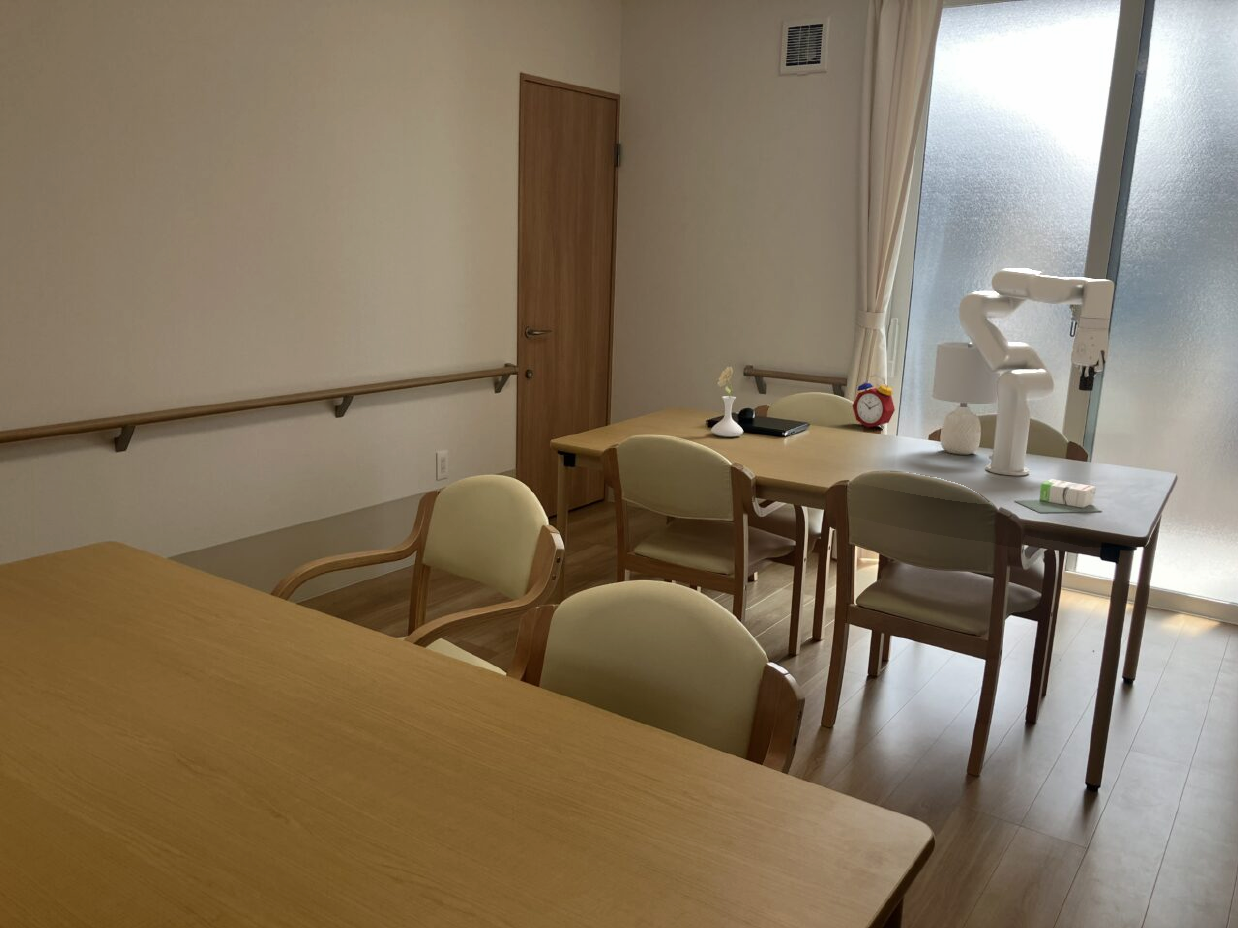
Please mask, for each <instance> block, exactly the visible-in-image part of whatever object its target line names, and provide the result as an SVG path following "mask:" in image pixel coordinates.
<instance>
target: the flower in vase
mask: <svg viewBox="0 0 1238 928" xmlns="http://www.w3.org/2000/svg"><path fill="white" fill-rule="evenodd" d="M733 372H734V370H733V367H732V366H727V367H726V368H725V369H724V370H723V371H722V372H721V374H720V377H718V382H717V385H718V387H719V388H720V387H723V386H725V385H726V384H728V382H729V385H730V387H728V385H726V386H725V387H724V390H725V391H726V393H728V394H729V395H726V396H725V395H724V396H721V399H722V401H723V403H724V416H723V418H722V419H721V420H719V422H717V423H716V424H714V425H713V426H712V427H711V429H710V432H711V433H712V434H714V435H716V436H719V437H739V436H740V435H742V434H743V433H744V430H743V428H742V427H741V426H740V425H739V424H738V422H736V421H735V420H734V419H733V417H732V409H733V404H734V402H735V400H736V399H737V397H736V396H733V391H734V388H733V387H732V383H731V381H730V379H731V378H732V374H733Z"/></svg>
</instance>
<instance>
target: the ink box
mask: <svg viewBox="0 0 1238 928" xmlns="http://www.w3.org/2000/svg"><path fill="white" fill-rule="evenodd" d="M1096 489H1097V488H1096V486H1093V485H1087V484H1081V483H1076V482H1070V481H1064V480H1059V479H1055V478H1051V479H1049V480H1047V481H1044V482H1043V483H1041V484H1040V491H1039V492H1040V493H1039V499H1038V500H1041V501H1046V502H1052V503H1057V504H1063V505H1069V506H1074V507H1080V508H1084V507H1086V506H1088V505H1089V506H1091V505H1092V504H1094V499H1095V494H1096V491H1097V490H1096Z"/></svg>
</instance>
